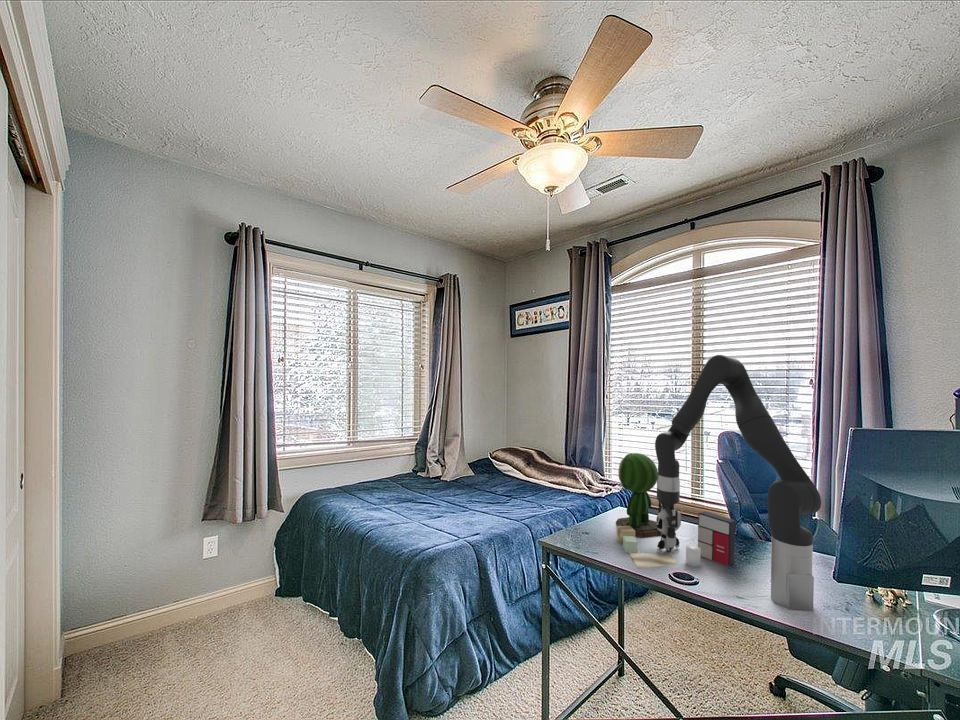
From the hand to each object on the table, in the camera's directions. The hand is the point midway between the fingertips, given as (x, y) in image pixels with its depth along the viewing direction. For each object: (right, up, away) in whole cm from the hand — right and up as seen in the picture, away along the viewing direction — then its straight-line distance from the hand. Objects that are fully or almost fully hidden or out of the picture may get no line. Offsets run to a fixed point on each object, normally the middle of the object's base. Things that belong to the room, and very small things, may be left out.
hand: (667, 532), depth 158 cm
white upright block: (+4, -6, -12) cm, 14 cm away
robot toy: (0, -6, 0) cm, 6 cm away
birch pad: (-8, -6, -10) cm, 14 cm away
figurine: (-3, -6, +20) cm, 21 cm away
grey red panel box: (+13, -7, -8) cm, 17 cm away
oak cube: (-12, -6, +7) cm, 16 cm away
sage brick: (-13, -6, 0) cm, 15 cm away
